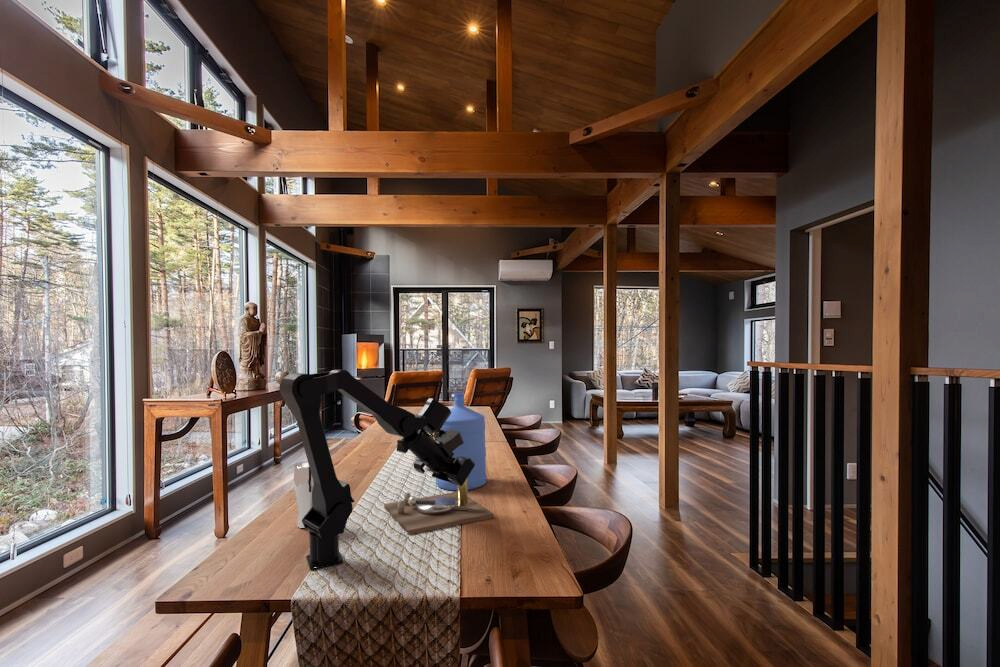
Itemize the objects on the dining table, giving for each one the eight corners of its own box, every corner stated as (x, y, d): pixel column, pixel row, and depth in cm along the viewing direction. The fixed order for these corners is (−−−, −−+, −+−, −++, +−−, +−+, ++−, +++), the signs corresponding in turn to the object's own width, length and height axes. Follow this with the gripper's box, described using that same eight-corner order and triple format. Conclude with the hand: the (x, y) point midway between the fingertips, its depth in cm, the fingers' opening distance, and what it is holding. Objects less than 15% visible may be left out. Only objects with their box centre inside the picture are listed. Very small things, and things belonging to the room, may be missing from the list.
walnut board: (493, 517, 130) (493, 501, 130) (408, 534, 120) (407, 517, 120) (459, 494, 150) (459, 480, 150) (384, 507, 140) (383, 492, 140)
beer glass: (315, 530, 124) (313, 468, 124) (288, 529, 126) (287, 467, 126) (330, 520, 131) (328, 461, 131) (305, 519, 133) (303, 460, 133)
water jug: (485, 490, 153) (483, 395, 153) (432, 492, 153) (430, 397, 153) (487, 476, 169) (485, 390, 169) (439, 477, 169) (437, 391, 169)
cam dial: (401, 513, 131) (400, 465, 131) (414, 500, 141) (413, 456, 141) (463, 515, 129) (462, 466, 129) (472, 502, 139) (471, 457, 139)
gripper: (467, 425, 122) (503, 463, 129) (422, 417, 135) (456, 452, 143) (441, 465, 116) (479, 502, 124) (396, 452, 130) (433, 487, 137)
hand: (462, 484), depth 132 cm, fingers closed
